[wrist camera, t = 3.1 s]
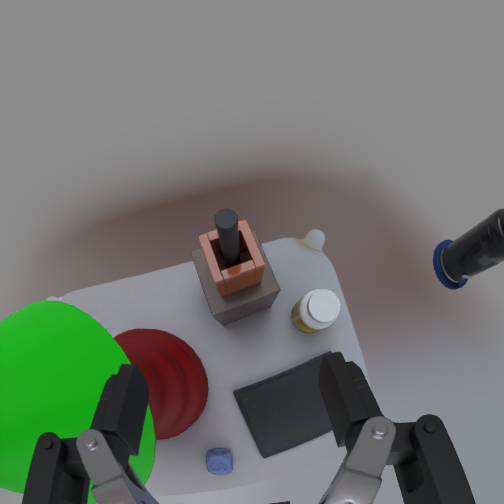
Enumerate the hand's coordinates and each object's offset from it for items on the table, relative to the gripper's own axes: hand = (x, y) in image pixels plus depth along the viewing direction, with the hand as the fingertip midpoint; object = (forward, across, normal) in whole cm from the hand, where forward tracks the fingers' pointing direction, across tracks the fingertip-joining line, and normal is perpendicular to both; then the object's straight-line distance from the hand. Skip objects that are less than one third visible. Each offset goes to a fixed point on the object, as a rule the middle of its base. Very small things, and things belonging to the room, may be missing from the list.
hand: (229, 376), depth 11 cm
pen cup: (+23, 0, +7) cm, 24 cm away
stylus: (+23, 0, +7) cm, 24 cm away
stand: (+33, 0, +17) cm, 37 cm away
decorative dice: (+12, +5, +39) cm, 41 cm away
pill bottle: (+30, -12, +21) cm, 38 cm away
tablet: (+18, -9, +32) cm, 38 cm away
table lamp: (+22, +16, +29) cm, 40 cm away
